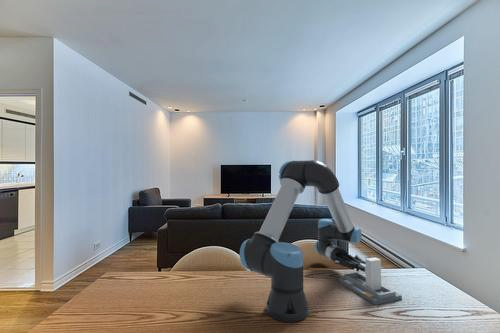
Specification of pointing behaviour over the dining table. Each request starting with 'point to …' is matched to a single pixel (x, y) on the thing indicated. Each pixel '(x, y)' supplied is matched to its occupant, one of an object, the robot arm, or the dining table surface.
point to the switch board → (368, 289)
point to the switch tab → (373, 273)
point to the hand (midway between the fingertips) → (371, 271)
